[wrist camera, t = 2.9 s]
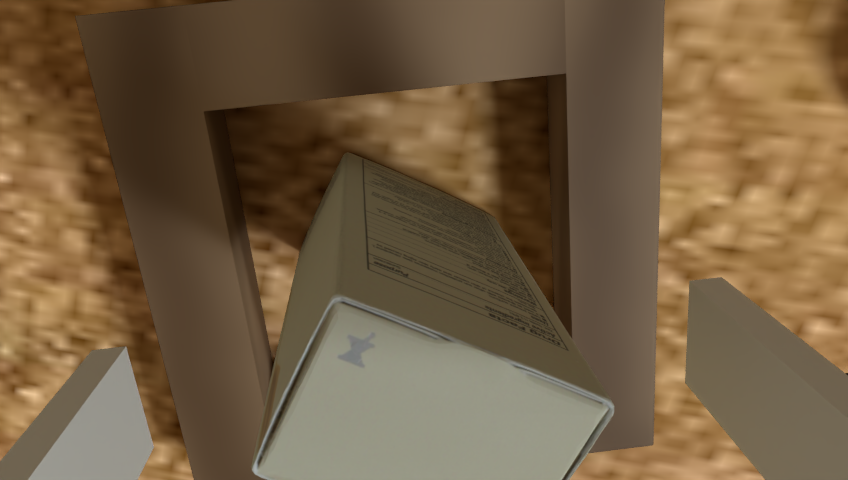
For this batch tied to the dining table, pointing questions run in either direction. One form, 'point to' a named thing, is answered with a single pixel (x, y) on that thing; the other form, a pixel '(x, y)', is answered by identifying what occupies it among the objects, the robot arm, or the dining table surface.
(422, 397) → the skincare box
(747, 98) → the dining table surface
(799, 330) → the dining table surface
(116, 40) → the stand
